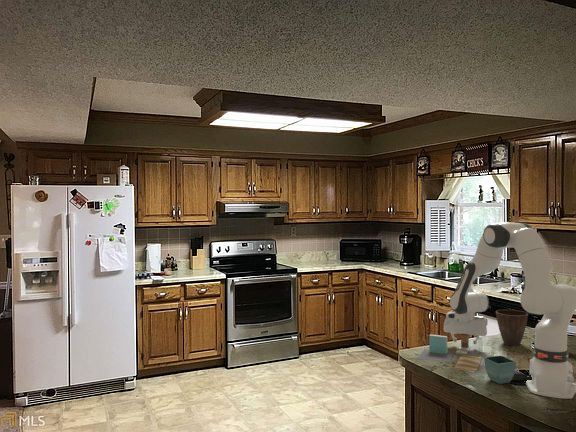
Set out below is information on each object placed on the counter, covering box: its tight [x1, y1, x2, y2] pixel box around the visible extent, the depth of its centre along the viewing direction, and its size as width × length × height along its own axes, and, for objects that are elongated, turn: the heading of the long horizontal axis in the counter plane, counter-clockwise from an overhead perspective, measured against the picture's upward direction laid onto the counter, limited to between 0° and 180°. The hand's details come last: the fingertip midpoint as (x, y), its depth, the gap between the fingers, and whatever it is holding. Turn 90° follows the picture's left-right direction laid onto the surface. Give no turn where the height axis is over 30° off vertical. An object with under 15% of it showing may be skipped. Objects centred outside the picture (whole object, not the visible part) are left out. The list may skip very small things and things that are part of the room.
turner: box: [454, 334, 471, 356], centre depth 239 cm, size 15×5×7 cm, turn 153°
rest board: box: [454, 354, 483, 373], centre depth 219 cm, size 20×9×1 cm, turn 153°
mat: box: [417, 348, 455, 363], centre depth 231 cm, size 16×14×1 cm
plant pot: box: [495, 309, 529, 347], centre depth 251 cm, size 15×15×16 cm
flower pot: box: [483, 355, 517, 385], centre depth 197 cm, size 9×9×9 cm
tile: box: [428, 334, 448, 354], centre depth 235 cm, size 2×8×8 cm, turn 62°
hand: (464, 342), depth 244 cm, fingers open, 8 cm apart
